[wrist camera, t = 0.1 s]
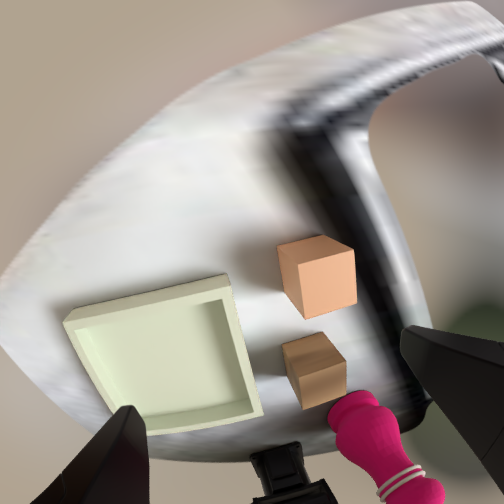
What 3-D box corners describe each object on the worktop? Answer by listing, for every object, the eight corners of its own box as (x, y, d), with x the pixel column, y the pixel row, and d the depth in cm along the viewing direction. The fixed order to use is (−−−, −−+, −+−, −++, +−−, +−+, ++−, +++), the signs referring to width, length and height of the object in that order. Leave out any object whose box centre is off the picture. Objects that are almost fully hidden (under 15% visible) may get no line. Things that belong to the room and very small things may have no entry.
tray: (258, 397, 26) (264, 415, 23) (132, 419, 24) (129, 437, 22) (226, 273, 22) (230, 285, 20) (73, 308, 20) (62, 322, 18)
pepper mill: (324, 397, 28) (413, 542, 9) (380, 378, 29) (480, 494, 10) (321, 434, 30) (387, 558, 11) (371, 417, 31) (447, 522, 12)
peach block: (328, 279, 24) (356, 303, 19) (284, 291, 23) (305, 319, 19) (323, 234, 23) (353, 249, 18) (276, 245, 22) (297, 264, 18)
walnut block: (324, 363, 26) (346, 394, 22) (286, 375, 26) (303, 409, 21) (322, 331, 25) (346, 360, 20) (281, 344, 25) (298, 377, 20)
